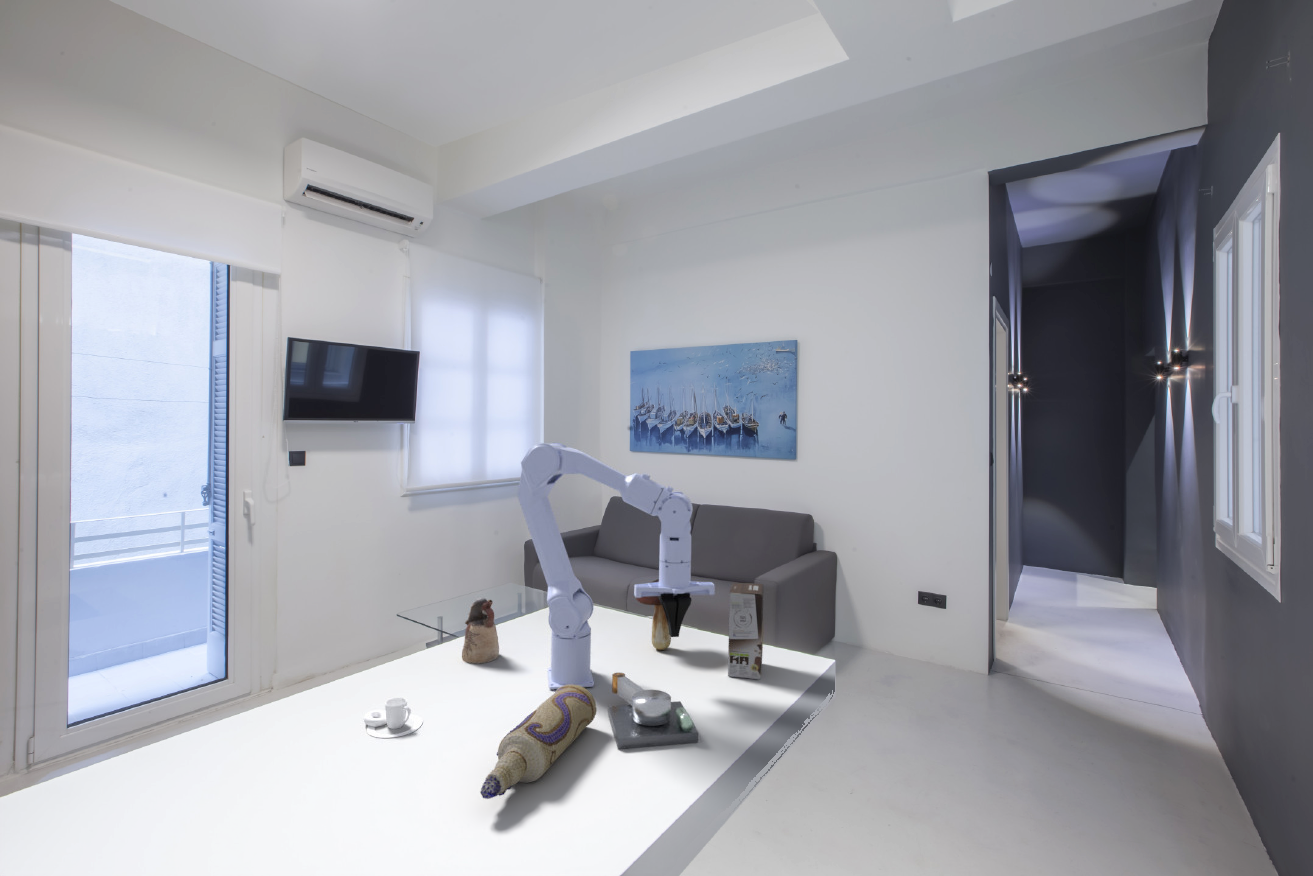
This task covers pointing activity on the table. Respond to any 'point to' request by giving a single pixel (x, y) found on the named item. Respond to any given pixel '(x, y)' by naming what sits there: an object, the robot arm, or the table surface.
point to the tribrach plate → (651, 728)
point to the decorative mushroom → (658, 622)
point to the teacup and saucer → (391, 718)
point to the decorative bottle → (540, 739)
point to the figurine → (480, 634)
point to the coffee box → (745, 630)
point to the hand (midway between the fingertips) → (673, 635)
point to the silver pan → (643, 701)
